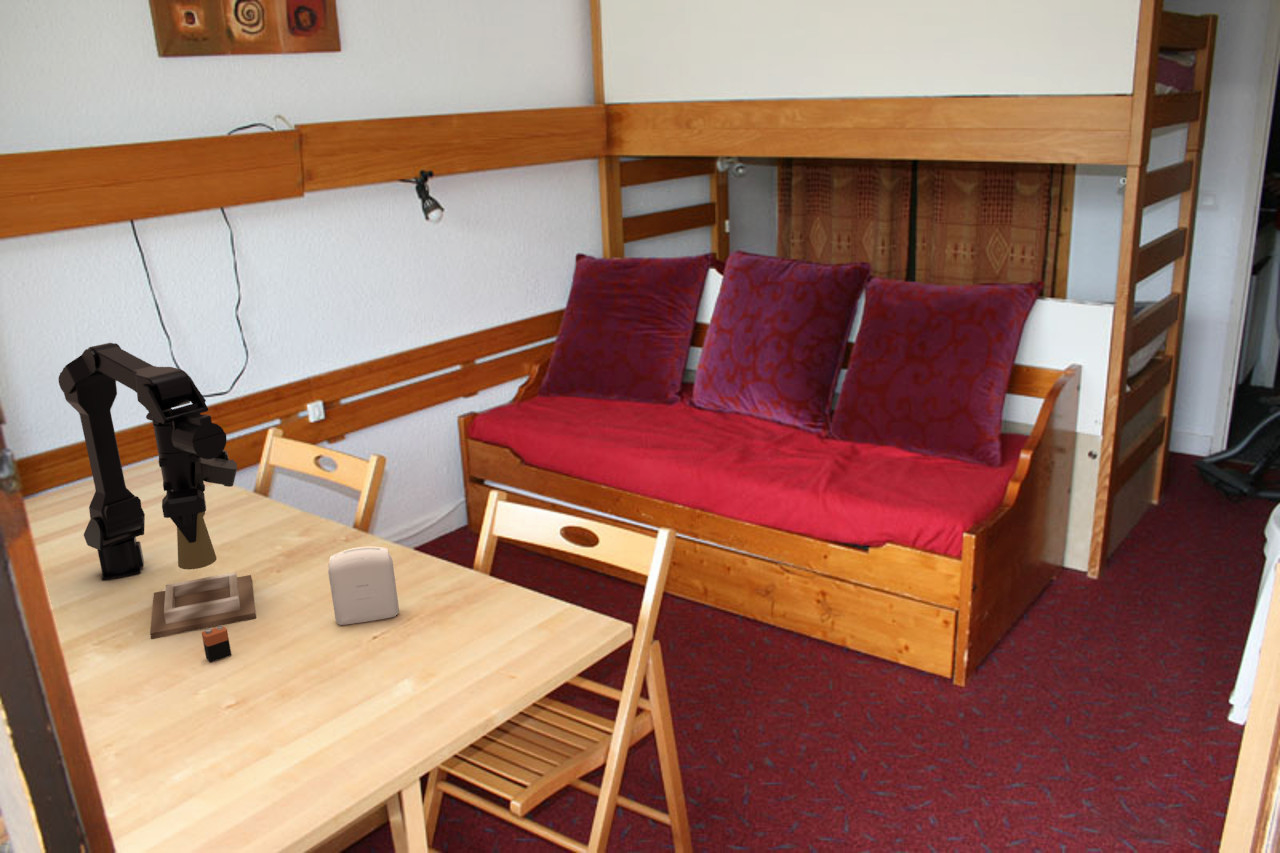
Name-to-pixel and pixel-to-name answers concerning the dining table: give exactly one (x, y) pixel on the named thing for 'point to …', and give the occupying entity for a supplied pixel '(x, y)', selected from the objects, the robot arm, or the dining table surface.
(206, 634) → the battery
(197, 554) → the cork
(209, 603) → the socket board
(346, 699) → the dining table surface
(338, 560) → the photo printer
